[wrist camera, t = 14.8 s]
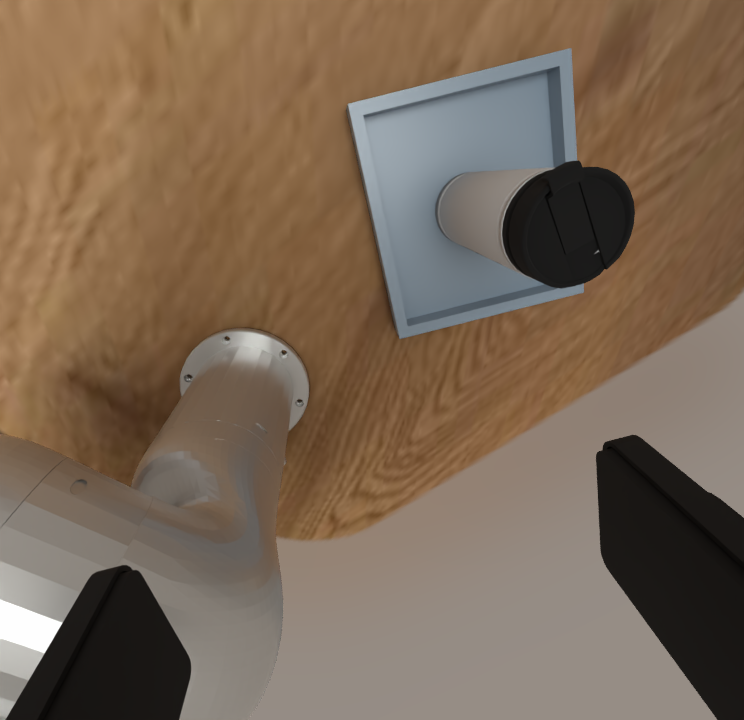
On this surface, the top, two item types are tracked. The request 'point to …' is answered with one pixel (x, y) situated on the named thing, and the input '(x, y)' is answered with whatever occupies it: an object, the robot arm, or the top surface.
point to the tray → (442, 163)
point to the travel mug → (541, 219)
